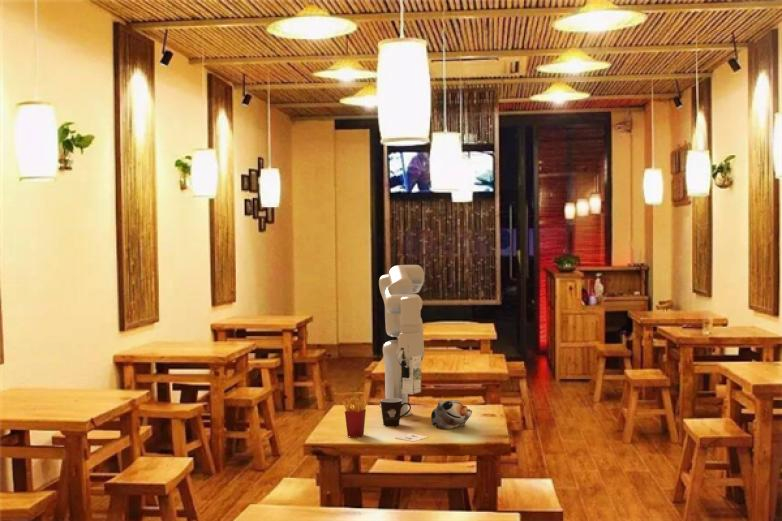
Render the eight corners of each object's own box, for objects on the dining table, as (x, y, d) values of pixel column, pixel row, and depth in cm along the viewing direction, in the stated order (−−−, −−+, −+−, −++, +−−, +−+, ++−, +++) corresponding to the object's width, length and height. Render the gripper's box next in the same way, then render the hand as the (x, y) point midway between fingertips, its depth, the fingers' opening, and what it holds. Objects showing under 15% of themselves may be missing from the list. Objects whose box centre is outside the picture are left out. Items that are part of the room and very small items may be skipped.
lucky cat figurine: (467, 422, 363) (476, 395, 357) (463, 440, 353) (473, 413, 346) (431, 412, 364) (440, 384, 358) (427, 429, 354) (435, 401, 347)
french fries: (361, 438, 338) (360, 398, 338) (340, 437, 341) (340, 397, 340) (368, 433, 347) (367, 394, 346) (348, 432, 349) (347, 393, 349)
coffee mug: (377, 426, 359) (377, 401, 358) (385, 422, 367) (384, 397, 366) (404, 428, 355) (404, 403, 354) (411, 423, 363) (411, 399, 362)
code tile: (394, 438, 338) (394, 437, 338) (409, 433, 345) (409, 433, 345) (413, 441, 332) (413, 441, 332) (428, 437, 339) (428, 436, 339)
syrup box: (409, 391, 342) (408, 353, 342) (422, 392, 339) (421, 354, 338) (400, 393, 338) (400, 355, 337) (413, 394, 334) (413, 356, 334)
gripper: (416, 326, 346) (417, 372, 347) (388, 330, 333) (388, 378, 334) (432, 327, 341) (432, 374, 342) (404, 331, 328) (404, 380, 329)
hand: (411, 376), depth 338 cm, fingers closed on syrup box, 5 cm apart
